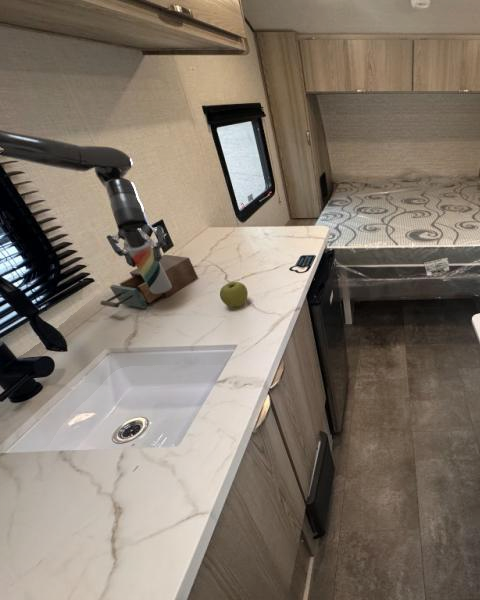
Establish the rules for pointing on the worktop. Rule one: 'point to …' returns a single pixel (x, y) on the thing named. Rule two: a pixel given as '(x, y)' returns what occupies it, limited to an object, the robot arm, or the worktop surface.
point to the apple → (234, 294)
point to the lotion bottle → (147, 262)
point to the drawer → (131, 293)
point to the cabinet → (175, 272)
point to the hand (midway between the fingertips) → (146, 263)
